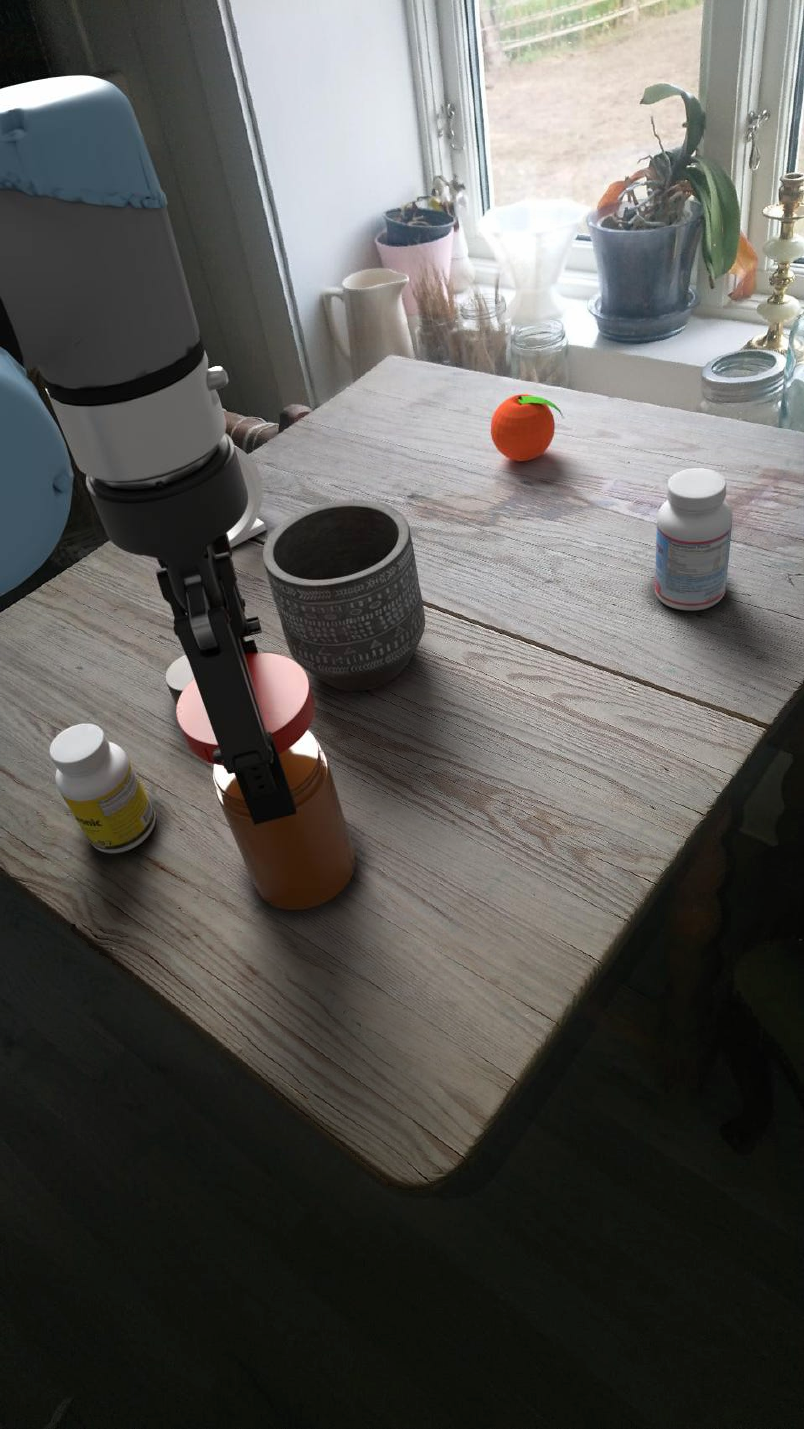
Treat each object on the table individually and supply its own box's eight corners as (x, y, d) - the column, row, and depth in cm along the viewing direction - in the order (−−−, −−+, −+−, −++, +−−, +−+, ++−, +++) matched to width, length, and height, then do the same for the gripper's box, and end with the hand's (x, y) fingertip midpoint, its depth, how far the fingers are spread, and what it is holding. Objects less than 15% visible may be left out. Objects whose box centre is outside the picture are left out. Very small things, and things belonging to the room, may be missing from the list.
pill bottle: (665, 567, 90) (670, 458, 82) (732, 578, 87) (744, 467, 80) (645, 606, 86) (648, 497, 79) (715, 619, 84) (725, 507, 76)
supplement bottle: (77, 831, 77) (26, 745, 70) (135, 791, 79) (91, 704, 73) (111, 868, 74) (61, 781, 67) (170, 825, 76) (127, 737, 69)
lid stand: (167, 718, 85) (153, 684, 82) (199, 679, 88) (186, 645, 86) (216, 730, 83) (203, 696, 80) (247, 690, 86) (236, 655, 84)
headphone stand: (206, 534, 106) (172, 433, 98) (253, 510, 108) (224, 410, 100) (226, 550, 103) (193, 447, 95) (274, 525, 105) (246, 423, 97)
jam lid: (265, 783, 56) (258, 761, 55) (157, 746, 60) (147, 725, 59) (340, 690, 61) (334, 668, 60) (235, 661, 65) (228, 641, 64)
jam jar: (233, 894, 70) (186, 788, 62) (285, 816, 75) (246, 708, 67) (325, 923, 67) (287, 815, 59) (372, 840, 72) (343, 730, 64)
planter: (351, 603, 93) (324, 486, 84) (457, 638, 87) (439, 516, 78) (268, 680, 87) (230, 562, 78) (376, 724, 81) (348, 602, 72)
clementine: (569, 439, 109) (567, 379, 104) (562, 472, 104) (559, 411, 100) (498, 441, 111) (493, 382, 106) (488, 473, 107) (482, 413, 102)
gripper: (253, 544, 41) (351, 874, 56) (214, 352, 56) (299, 653, 71) (75, 589, 40) (223, 909, 56) (85, 383, 55) (199, 678, 71)
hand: (266, 765), depth 64 cm, fingers closed on jam lid, 8 cm apart
